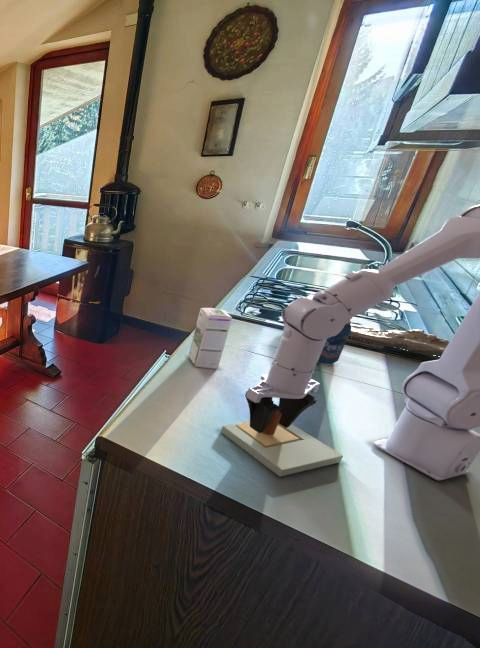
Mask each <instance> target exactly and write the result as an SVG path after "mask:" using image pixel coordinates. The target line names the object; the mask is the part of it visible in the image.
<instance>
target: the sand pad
mask: <svg viewBox="0 0 480 648" xmlns="http://www.w3.org/2000/svg"><path fill="white" fill-rule="evenodd" d="M281 416H282V413H281V412H280V411H278V412H277V413H276V414H275V415H274V416H273V417H272V418H271V420H270V421H269V423H268V425H267V427H266V429H265V430H264V431H263V432H262V433H258V432H257V431H255V430H254V429H252V428H251V427H250V420H249V421H245V422H239V423H235V424H234V426H236V427H237V428H238V429H240V430H241V431H243V432H244V433H245V434H247V435H248V436H250V437H251V438H252V439H254V440H255V441H257V442H258V443H259V444H261V445H262V446H264V447H265V448H267V447H272V446H277V445H281V444H286V443H291V442H295V441H298V440H299V438H297V437H296V436H294V435H292V434H291V433H289V432H288V431H286V430H285V429H283V428H282V427H280V426H278V423H279V421H280V418H281Z"/></svg>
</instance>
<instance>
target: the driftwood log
mask: <svg viewBox="0 0 480 648" xmlns="http://www.w3.org/2000/svg"><path fill="white" fill-rule="evenodd" d="M351 328H352V329H351V332H350V334H349V336H348V339H350V340H354V341H356V342H359V343H360V342H361V343H365V344H368V345H373V346H378V347H379V346H381V347H386V348H392V349H396V350H399V351H401V352H405V353H409V354H418V355H423V356H425V357H427V358H432V359H436V360H438V359H440V357H441V356H442V354H443V352H444V351H445V349H446V347H447V346H448V344H449V342H450V340H448V339H444V338H442V337H438V336H437V335H436V334H429V333H427V332H425V330H424V329H409V330H407V329H406V330H398V329H390V330H388V329H376V328H373V327H369V326H364V325H358V324H352V323H351ZM351 337H352V338H351ZM356 338H357V339H356ZM348 339H347V340H348ZM360 339H361V340H360ZM364 340H365V341H364ZM394 347H396V348H394ZM400 348H402V349H400ZM403 349H405V350H403ZM407 350H408V351H407ZM433 355H436V356H433ZM438 356H440V357H438Z"/></svg>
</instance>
